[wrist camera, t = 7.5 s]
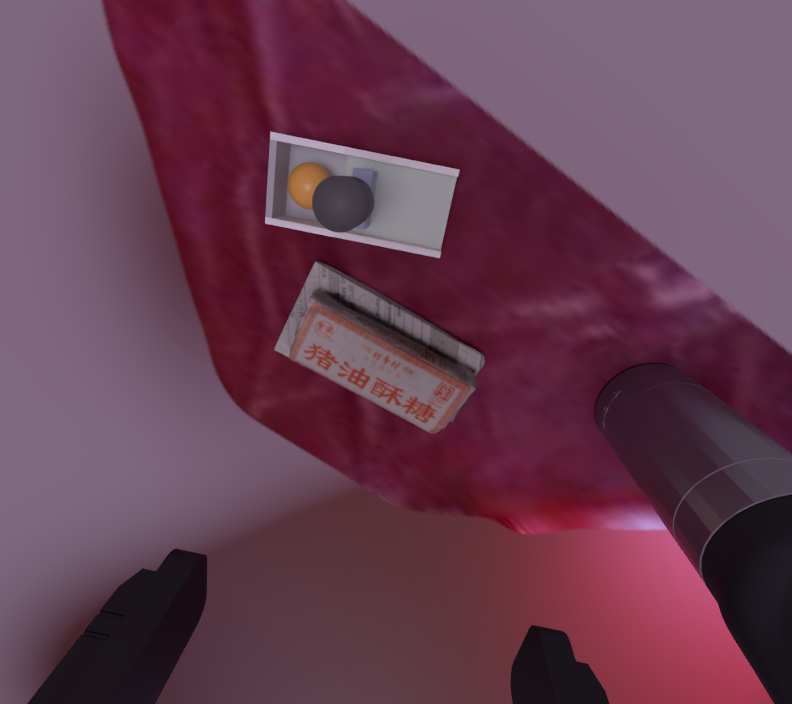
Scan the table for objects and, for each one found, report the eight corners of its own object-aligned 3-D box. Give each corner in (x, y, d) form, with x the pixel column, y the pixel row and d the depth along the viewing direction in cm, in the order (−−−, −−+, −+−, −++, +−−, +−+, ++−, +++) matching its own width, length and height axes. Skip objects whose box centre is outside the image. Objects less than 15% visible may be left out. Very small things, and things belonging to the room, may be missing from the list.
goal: (353, 149, 34) (344, 146, 30) (342, 232, 36) (333, 237, 33) (285, 136, 34) (270, 131, 30) (279, 219, 36) (265, 223, 33)
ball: (280, 156, 31) (304, 160, 34) (277, 205, 32) (300, 204, 36) (322, 165, 30) (342, 168, 34) (317, 214, 32) (337, 213, 35)
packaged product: (495, 374, 35) (433, 456, 39) (488, 352, 40) (433, 428, 43) (303, 266, 33) (257, 365, 37) (318, 256, 37) (276, 345, 41)
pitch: (456, 170, 34) (459, 169, 30) (438, 251, 36) (439, 258, 33) (353, 149, 34) (345, 146, 30) (342, 232, 36) (334, 236, 33)
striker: (388, 174, 32) (370, 171, 22) (379, 227, 33) (359, 246, 24) (349, 166, 32) (316, 160, 22) (342, 220, 33) (308, 235, 24)
